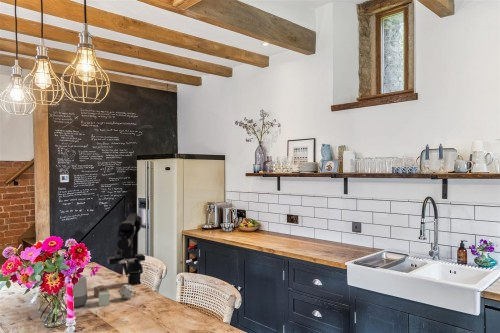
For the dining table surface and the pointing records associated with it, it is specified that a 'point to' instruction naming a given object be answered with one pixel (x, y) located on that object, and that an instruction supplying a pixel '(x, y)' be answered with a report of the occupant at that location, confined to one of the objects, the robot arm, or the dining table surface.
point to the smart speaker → (80, 292)
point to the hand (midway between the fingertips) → (126, 274)
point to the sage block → (103, 298)
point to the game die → (126, 291)
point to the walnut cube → (98, 289)
